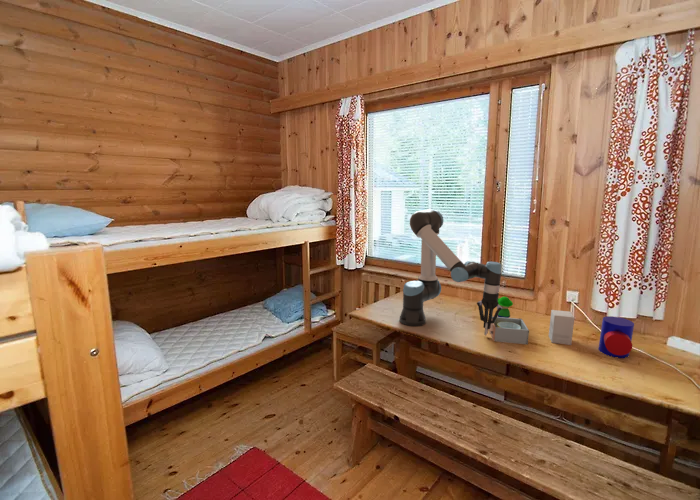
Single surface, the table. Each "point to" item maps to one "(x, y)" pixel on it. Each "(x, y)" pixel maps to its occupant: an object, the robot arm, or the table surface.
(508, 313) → the toy
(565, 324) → the supplement box
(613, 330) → the cylinder
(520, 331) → the box
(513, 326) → the bowl
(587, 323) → the table surface
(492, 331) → the door
